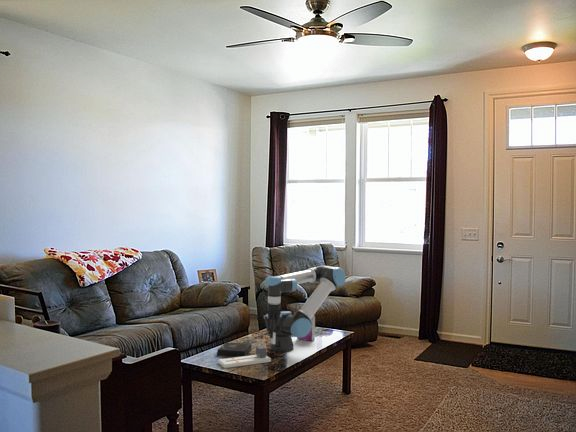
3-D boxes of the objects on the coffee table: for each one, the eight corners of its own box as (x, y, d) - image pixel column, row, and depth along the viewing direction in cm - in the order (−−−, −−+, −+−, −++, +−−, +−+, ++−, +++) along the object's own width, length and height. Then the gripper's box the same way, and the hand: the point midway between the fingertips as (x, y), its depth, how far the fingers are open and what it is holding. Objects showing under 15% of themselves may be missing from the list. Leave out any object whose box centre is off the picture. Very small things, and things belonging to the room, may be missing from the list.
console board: (263, 357, 302) (263, 353, 302) (270, 361, 294) (271, 357, 294) (218, 363, 289) (218, 359, 289) (224, 368, 281) (224, 364, 281)
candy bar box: (296, 339, 345) (297, 315, 345) (300, 337, 349) (300, 313, 349) (311, 341, 340) (312, 316, 340) (315, 340, 344) (315, 315, 344)
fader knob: (262, 354, 299) (262, 345, 299) (265, 356, 295) (266, 347, 295) (256, 355, 297) (256, 346, 297) (259, 357, 293) (259, 348, 293)
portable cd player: (224, 348, 320) (224, 342, 320) (251, 350, 318) (251, 344, 318) (216, 356, 304) (216, 349, 304) (244, 358, 302) (244, 351, 301)
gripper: (281, 301, 306) (280, 341, 306) (261, 302, 300) (260, 343, 300) (287, 303, 299) (286, 344, 299) (266, 305, 293) (265, 346, 293)
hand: (273, 343), depth 300 cm, fingers closed
